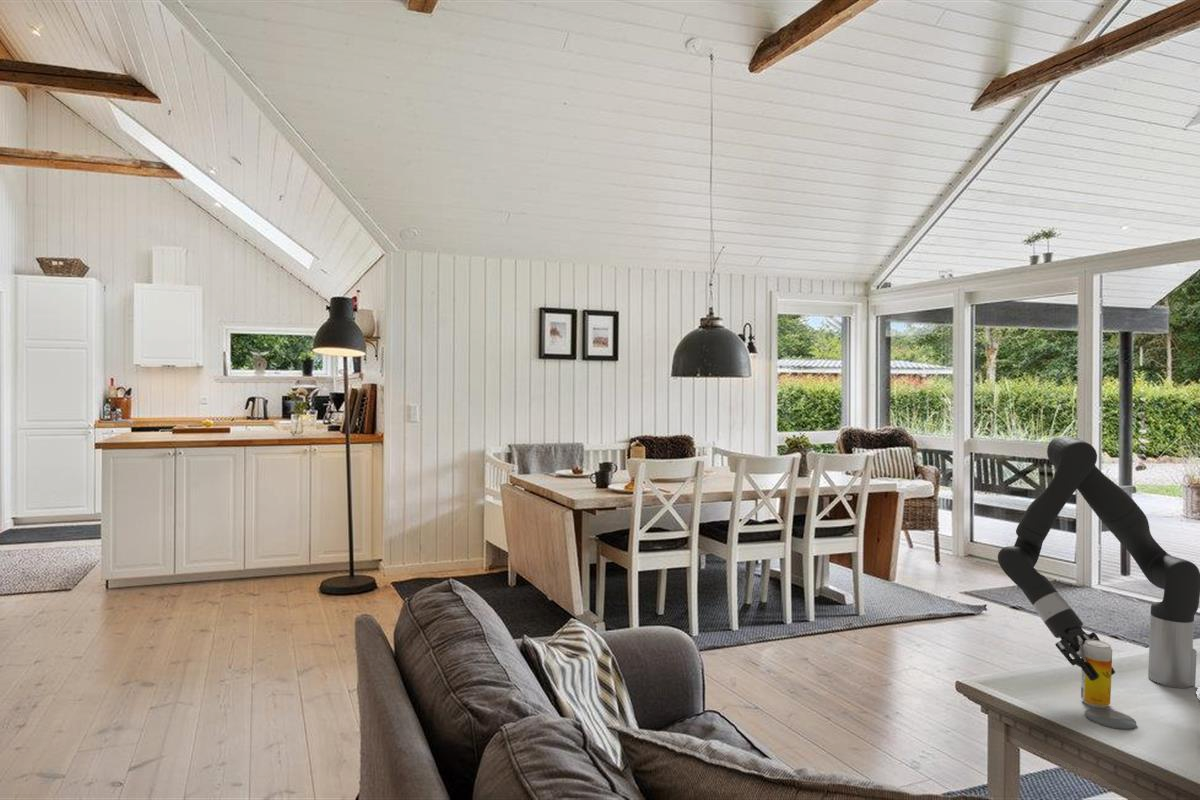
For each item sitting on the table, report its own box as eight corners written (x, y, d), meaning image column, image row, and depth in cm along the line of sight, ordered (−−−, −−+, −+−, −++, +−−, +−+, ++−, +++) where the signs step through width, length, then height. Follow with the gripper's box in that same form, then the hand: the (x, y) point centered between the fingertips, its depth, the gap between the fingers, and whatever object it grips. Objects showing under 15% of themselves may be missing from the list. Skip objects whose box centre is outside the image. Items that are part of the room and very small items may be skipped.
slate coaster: (1118, 711, 183) (1118, 708, 183) (1146, 730, 173) (1146, 727, 173) (1075, 709, 183) (1075, 707, 183) (1101, 728, 173) (1101, 726, 173)
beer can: (1114, 710, 183) (1117, 648, 183) (1086, 707, 184) (1089, 646, 184) (1103, 699, 189) (1105, 640, 189) (1076, 697, 190) (1078, 638, 190)
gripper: (1050, 610, 190) (1098, 674, 179) (1085, 604, 196) (1132, 665, 186) (1029, 625, 194) (1074, 688, 184) (1063, 618, 201) (1109, 679, 191)
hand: (1103, 676), depth 185 cm, fingers closed on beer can, 6 cm apart
